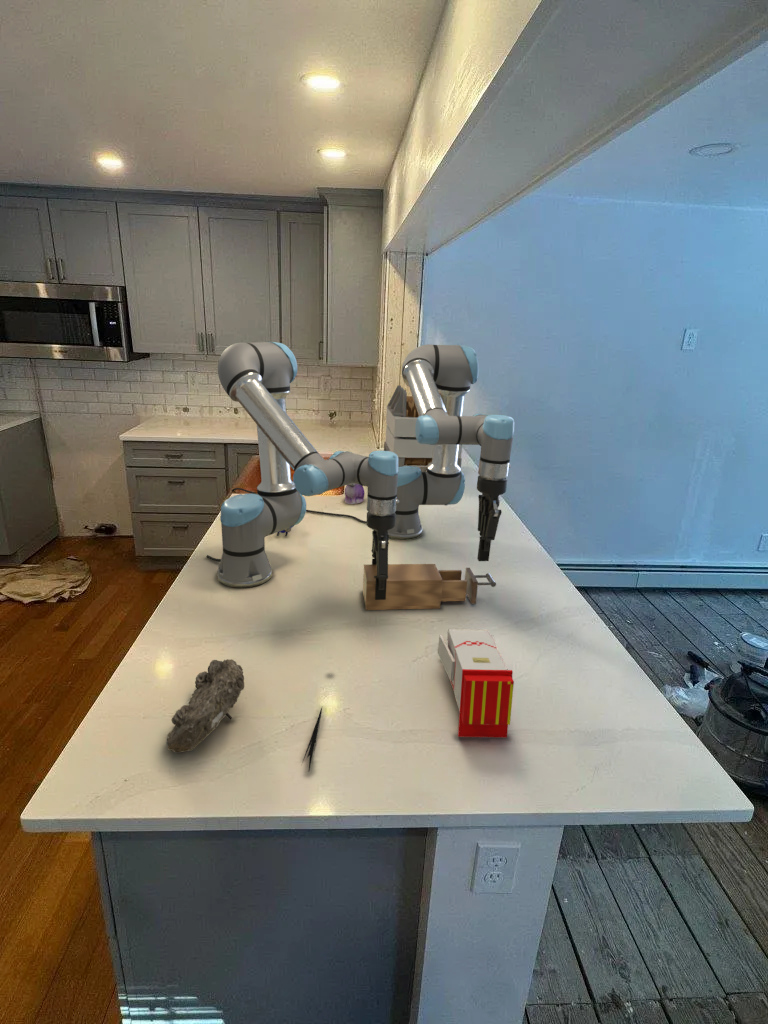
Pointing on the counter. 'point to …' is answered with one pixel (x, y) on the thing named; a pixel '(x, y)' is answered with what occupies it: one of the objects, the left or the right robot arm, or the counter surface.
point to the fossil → (206, 705)
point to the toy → (478, 682)
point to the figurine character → (284, 531)
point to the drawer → (462, 585)
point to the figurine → (354, 493)
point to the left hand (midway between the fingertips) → (378, 589)
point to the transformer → (406, 432)
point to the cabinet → (404, 587)
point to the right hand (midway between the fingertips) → (483, 559)
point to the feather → (313, 740)
